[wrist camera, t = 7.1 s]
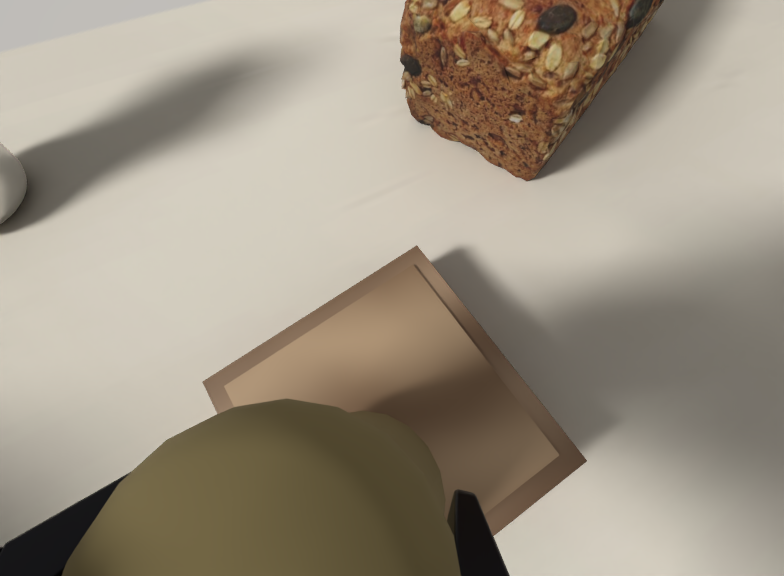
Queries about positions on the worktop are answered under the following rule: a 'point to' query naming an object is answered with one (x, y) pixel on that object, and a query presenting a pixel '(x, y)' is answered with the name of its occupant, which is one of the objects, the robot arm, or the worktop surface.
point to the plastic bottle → (10, 183)
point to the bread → (513, 69)
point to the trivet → (416, 384)
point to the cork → (277, 501)
